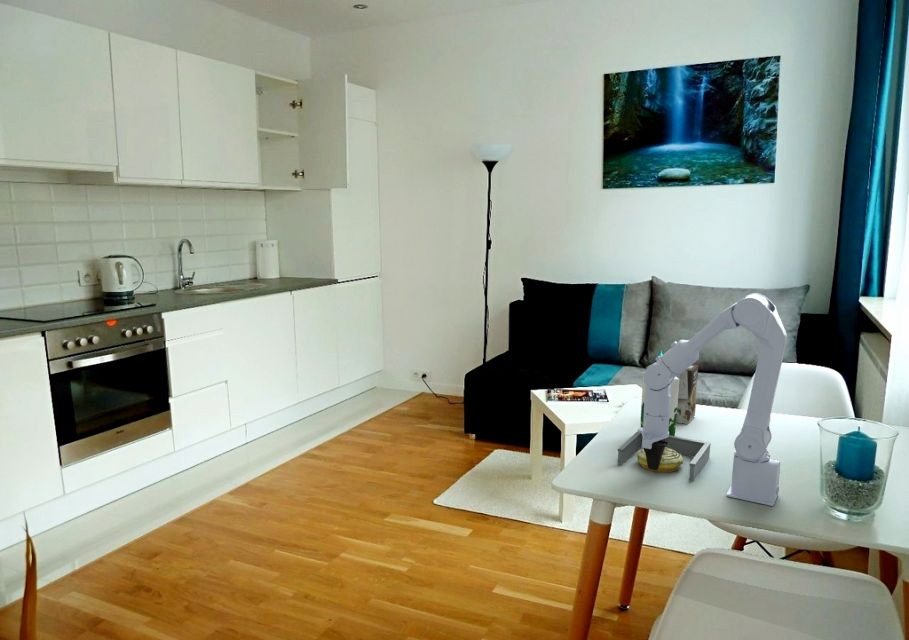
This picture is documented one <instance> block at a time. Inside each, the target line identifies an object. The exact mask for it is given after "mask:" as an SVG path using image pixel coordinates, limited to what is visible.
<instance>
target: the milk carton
mask: <svg viewBox="0 0 909 640" xmlns="http://www.w3.org/2000/svg"><path fill="white" fill-rule="evenodd" d="M648 366H649V365H647V366H645V370H646V369H647V367H648ZM644 372H645V371H642V375H643V374H644ZM679 380H680V379H679V378H677V377H675V378H674V380H673V381H672V382H671V383H670V384H671V389H670V395H671V398H670V413H669V429H668V431H669V435H671V436H676V429H677V422H676V420H677V405H678V391H679ZM641 384H642V389H641V390H642V391H641V406H640V407H641V410H640V428H643V419H644V401H645V392H646V384H645V382H644V380H643V379H642V383H641Z"/></svg>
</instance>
